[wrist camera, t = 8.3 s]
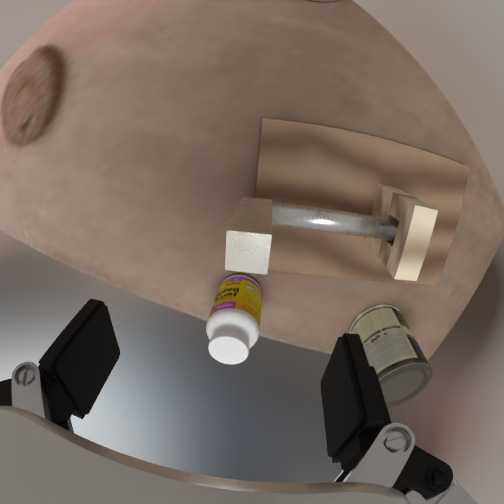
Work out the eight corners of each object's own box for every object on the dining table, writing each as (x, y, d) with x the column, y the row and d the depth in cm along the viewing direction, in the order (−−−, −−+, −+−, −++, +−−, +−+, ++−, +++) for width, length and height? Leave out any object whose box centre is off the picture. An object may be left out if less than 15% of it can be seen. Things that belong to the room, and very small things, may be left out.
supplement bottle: (244, 264, 39) (232, 320, 28) (270, 296, 41) (269, 357, 30) (210, 286, 41) (188, 343, 30) (236, 315, 43) (225, 376, 32)
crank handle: (241, 221, 30) (224, 270, 19) (243, 194, 28) (227, 230, 18) (394, 239, 29) (439, 289, 19) (400, 215, 28) (451, 257, 18)
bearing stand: (262, 118, 31) (258, 110, 20) (463, 165, 30) (515, 182, 19) (249, 263, 39) (240, 314, 28) (432, 281, 38) (466, 323, 28)
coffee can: (411, 308, 41) (445, 364, 28) (384, 351, 45) (405, 408, 32) (364, 297, 41) (393, 360, 28) (339, 344, 45) (353, 408, 32)
